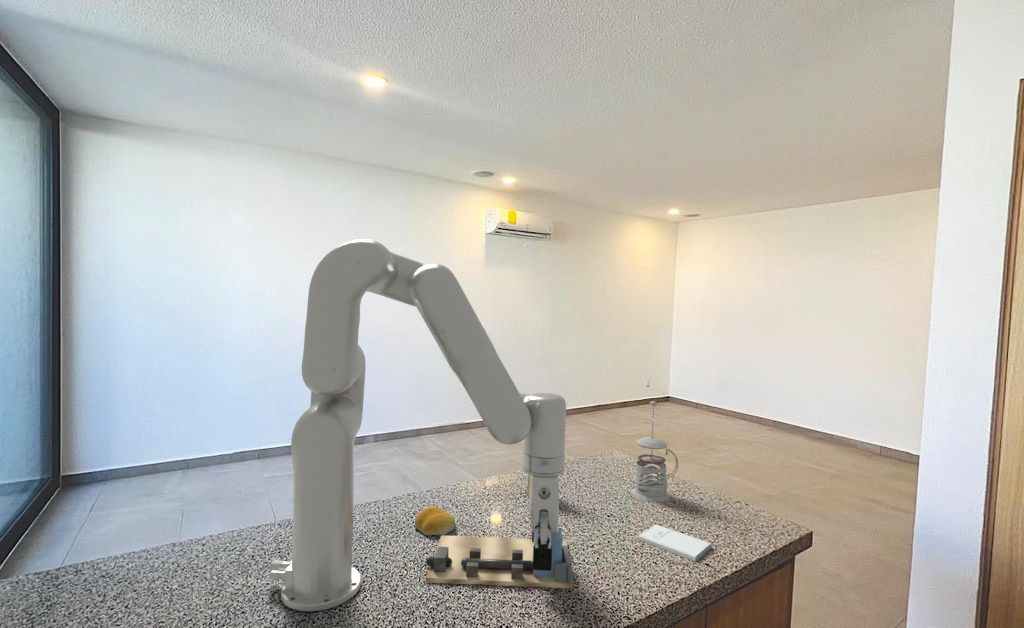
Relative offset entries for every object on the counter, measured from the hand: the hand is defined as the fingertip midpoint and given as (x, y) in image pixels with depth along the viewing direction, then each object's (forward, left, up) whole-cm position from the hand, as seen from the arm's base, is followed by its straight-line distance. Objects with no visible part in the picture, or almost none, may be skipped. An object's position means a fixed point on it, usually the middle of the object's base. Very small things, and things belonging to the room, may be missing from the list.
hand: (541, 555), depth 89 cm
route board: (-7, +4, -4) cm, 9 cm away
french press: (+32, +42, -4) cm, 52 cm away
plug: (-5, 0, -3) cm, 6 cm away
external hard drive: (+29, +14, -4) cm, 32 cm away
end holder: (+4, 0, -3) cm, 5 cm away
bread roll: (-23, +18, -4) cm, 29 cm away
